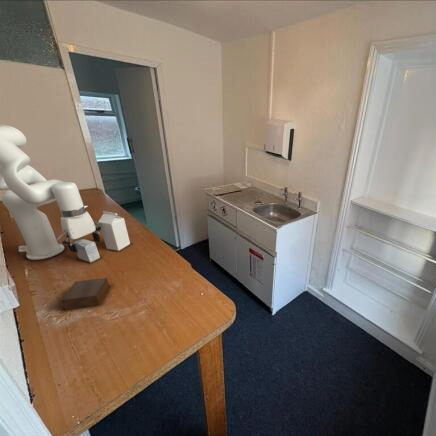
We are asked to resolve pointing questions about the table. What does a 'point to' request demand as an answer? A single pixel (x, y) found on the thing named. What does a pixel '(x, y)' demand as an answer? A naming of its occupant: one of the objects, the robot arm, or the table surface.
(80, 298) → the walnut block
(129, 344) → the table surface
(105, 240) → the milk carton
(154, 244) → the table surface
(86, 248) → the medicine box
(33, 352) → the table surface
